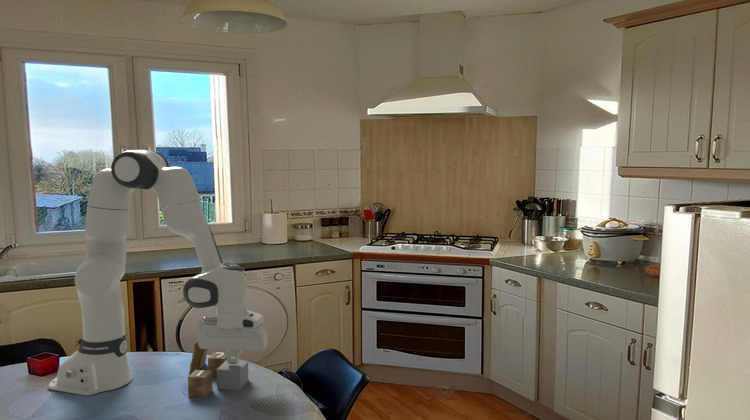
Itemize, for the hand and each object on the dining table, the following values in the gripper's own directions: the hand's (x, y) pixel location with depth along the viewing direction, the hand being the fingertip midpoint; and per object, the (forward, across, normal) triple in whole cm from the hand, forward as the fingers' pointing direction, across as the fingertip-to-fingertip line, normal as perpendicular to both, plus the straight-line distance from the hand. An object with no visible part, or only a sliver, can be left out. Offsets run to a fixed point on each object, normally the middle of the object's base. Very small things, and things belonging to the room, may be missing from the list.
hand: (233, 363), depth 161 cm
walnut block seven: (+6, -7, +7) cm, 12 cm away
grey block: (+7, 0, 0) cm, 7 cm away
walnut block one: (+6, -7, -7) cm, 12 cm away
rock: (+7, -16, +10) cm, 20 cm away
